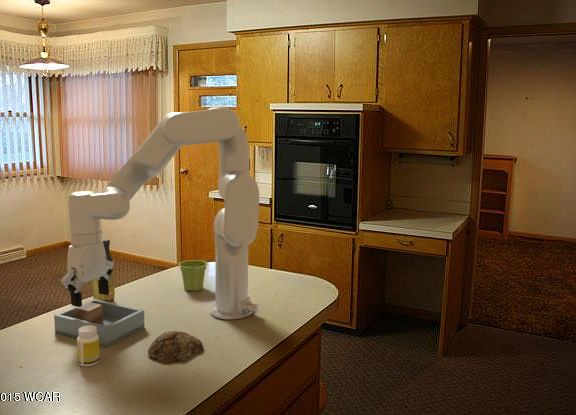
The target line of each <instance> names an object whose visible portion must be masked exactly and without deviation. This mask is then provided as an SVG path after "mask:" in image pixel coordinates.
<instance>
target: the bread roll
mask: <svg viewBox="0 0 576 415" xmlns="http://www.w3.org/2000/svg"><path fill="white" fill-rule="evenodd" d="M203 349H204V344H203V342H202V341H201V340H200V339H199V338H197V337H196V336H194V335H191V334H190V333H188V332H185V331H178V330H172V331H171V330H170V331H165V332H163V333H162V334H160V335H158V336H157V337H156V338H155V340H154V341H153V342H152V343H151V344H150V345H149V348H148V349H147V354H148V357H149V358H152V359H157V360H158V362H159V363H161V364H165V365H166V364H172V363H177V362H185V361H187V360H190V359H192V358H193V357H195V356H196V355H198V354H200V353H202V351H203Z"/></svg>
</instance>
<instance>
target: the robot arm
mask: <svg viewBox="0 0 576 415" xmlns="http://www.w3.org/2000/svg"><path fill="white" fill-rule="evenodd" d="M215 142H216V144H217V147H218V152H219V153H218V156H219V157H218V158H219V161H218V162H219V165H218V167H219V168H218V182H217V190H218V195H219V196H220V197H221V198H222V199H223V200H224V207H223V208H221V209H220V210H219V211H218V212H217V214H216V215H215V217H214V222H213V232H214V233H213V235H214V246H215V248H214V249H215V250H214V251H215V283H214V284H215V288H214V289H215V291H214V292H215V296H214V297H215V300H214V302H215V303H214V304H212V305H211V306H210V308H209V312H210V315H211V316H213V317H214V318H217V319H221V320H230V321H231V320H240V319H245V318H247V317H249V316H251V315H252V314H253V313H254V314H258V313H259V307H260V306H259V303H254V302H252V297H251V296H249V295H248V294H249V290H248V288H249V284H248V283H249V246H250V244H252V243H253V242H254V240H255V238H256V236H257V235H258V234H257V233H258V227H259V216H260V215H259V213H260V212H259V211H260V189H259V185H258V183H257V180H255V178H254V177H253V176H252V175H250V146H249V145H250V144H249V140H248V137H247V134H246V132H245V131H244V129H243V127H242V126H241V124H240V119H239V117H238V115H237V113H236V112H235V111H234V110H232V109H231V108H228V107H219V106H214V107H210V108H208V109H202V110H194V111H183V112H179V111H172V112H169V113H168V114H166V115H165V116H164V117H163V118H162V119H161V120H160V121H159V122H158V124H156V126H154V129H152V131H151V132H150V133H149V135H147V137H146V138H145V139H144V141H143V142H142V143H141V144H140V145H139V147H138V148H137V149H136V150H135V152H134V153H133V154H132V155H131V156H130V157H129V159H128V160H127V161H126V162H125V164H124V165H123V166H122V167H121V168H120V170H118V172H117V173H116V174H115V175H114V177H112V178H111V180H110V181H109V182H108V183H107V185H106V186H105V187H104V189H103V190H102V191H101V193H97V192H96V191H91V190H82V191H81V190H79V191H74V192H71V193H69V195H68V197H67V204H68V206H67V207H68V218H69V220H68V221H69V231H70V245H69V246H68V248H67V261H66V262H67V263H66V266H67V267H66V270H67V271H66V272H67V273H66V274H65V275H63V277H62V278H61V280H60V282H61V283H62V285H63V287H64V289H66V291H68V292H69V293H70V304H71V306H72V307H75V306H76V307H81V306H82V304H83V299H82V292H81V291H80V290H81V288H82V286H83V284H87V283H89V282H93V280H94V279H97V278H100V279H99V280H98V288H99V294H103V295H109V285H108V280H110V275H111V273H112V268H113V264H114V265H115V263H114V261H113V262H111V261H108V260H106V253H105V248H104V244H103V241H102V240H101V238H102V235H103V230H102V228H101V227H102V226H101V220H110V221H113V220H114V221H116V220H122V219H123V218H125V217H126V216H127V215H128V214H129V212H130V209H131V202H130V201H131V200H132V199H133V198H134V196H135V195H136V194H137V193H138V191H139V190H140V189H141V188H142V187H143V186H144V185H145V184H146V183H147V182H148V181H150V180H151V179H153V178H155V177H157V176H158V175H159V174H160V173H162V172H163V170H164V169H165V168H166V167H167V165H168V164H169V163H170V162H171V160H172V159H173V158H174V157H175V155H176V154H177V153H178V152H179V151H180V150H181V148H182V147H183V146H193V145H202V144H209V143H215Z"/></svg>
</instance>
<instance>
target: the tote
mask: <svg viewBox="0 0 576 415" xmlns="http://www.w3.org/2000/svg"><path fill="white" fill-rule="evenodd" d="M87 302H91V303H96V304H100V305H103V323H101V324H96V323H92V322H88V321H84V320H80V319H76V318H75V307H76V306H72V307H71V308H69V309H65V310H64V311H61V312H58V313H55V314H54V315H53V319H54V320H53V321H54V333H55V334H57V333H58V334H57V335H60V334H61V336H64V335H65V337H67V338H72V339H76V340H77V338H78V336H79V335H78V329H79V328H80V327H83V326H87V325H93V326H96V328H97V335H98V336H99V346H101V347H105V348H108V347H111V346H112V345H114V344H116V343H118V342H120V341H122V340H123V339H126V338H127V337H129V336H131V335H134V334H135V333H137V332H138V331H140V330H143V329H144V328H145V310H144V309H141V308H137V307H132V306H127V305H123V304H120V303H119V304H118V303H114V302H113V303H110V302H106V301H101V300H97V299H93V298H92V299H91V300H88V301H86V302H82V304H85V303H87Z"/></svg>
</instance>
